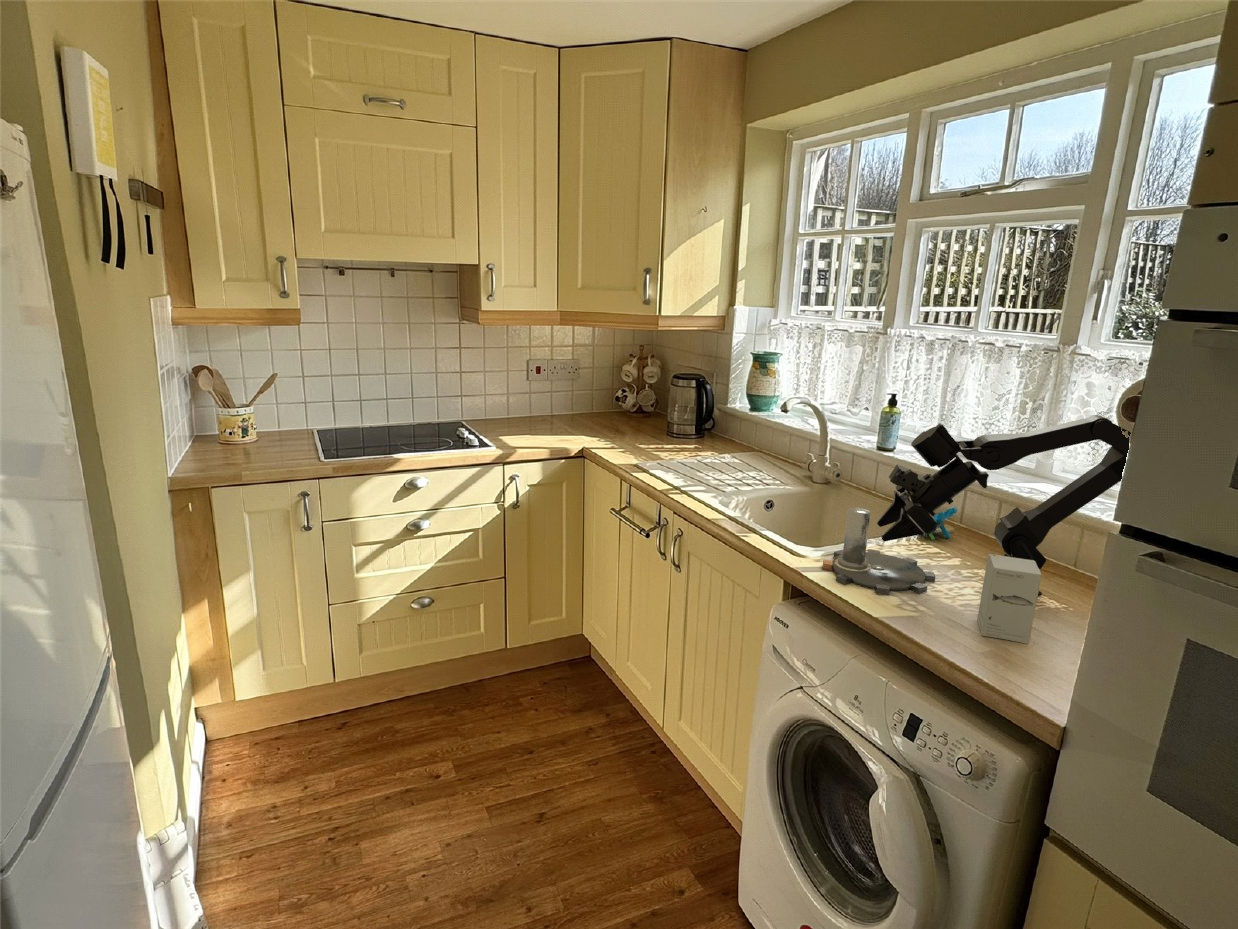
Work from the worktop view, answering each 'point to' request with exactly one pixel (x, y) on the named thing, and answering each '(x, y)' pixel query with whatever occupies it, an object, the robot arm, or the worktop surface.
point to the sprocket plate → (883, 573)
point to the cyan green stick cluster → (941, 518)
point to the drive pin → (855, 539)
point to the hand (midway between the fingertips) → (880, 532)
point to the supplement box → (1009, 598)
